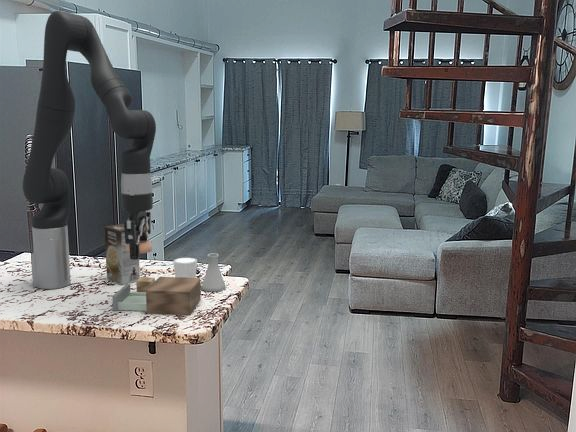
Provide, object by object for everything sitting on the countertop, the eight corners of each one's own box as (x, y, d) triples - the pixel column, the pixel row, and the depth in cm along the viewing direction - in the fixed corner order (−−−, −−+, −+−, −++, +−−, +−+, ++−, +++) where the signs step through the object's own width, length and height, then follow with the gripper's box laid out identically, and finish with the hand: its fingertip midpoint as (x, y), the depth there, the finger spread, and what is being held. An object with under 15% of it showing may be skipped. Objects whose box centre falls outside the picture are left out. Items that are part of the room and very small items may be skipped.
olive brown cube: (136, 293, 158) (136, 281, 158) (141, 289, 162) (140, 277, 162) (150, 294, 158) (150, 281, 158) (155, 289, 162) (154, 277, 162)
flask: (221, 293, 160) (221, 258, 158) (196, 291, 161) (196, 256, 160) (229, 285, 167) (229, 252, 165) (205, 284, 168) (205, 250, 166)
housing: (146, 313, 143) (145, 290, 142) (160, 297, 155) (159, 276, 154) (190, 315, 143) (189, 292, 142) (200, 299, 154) (200, 278, 153)
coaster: (122, 253, 144) (122, 245, 143) (131, 247, 150) (130, 239, 150) (147, 254, 143) (147, 246, 143) (155, 248, 150) (154, 240, 149)
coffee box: (105, 278, 172) (103, 226, 169) (124, 274, 176) (122, 223, 173) (122, 285, 165) (120, 231, 162) (141, 281, 170) (139, 227, 167)
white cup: (175, 279, 172) (174, 257, 170) (198, 279, 172) (198, 257, 171) (172, 286, 165) (172, 263, 164) (196, 286, 166) (196, 263, 164)
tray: (112, 310, 145) (112, 296, 144) (127, 297, 155) (126, 283, 154) (155, 312, 144) (155, 297, 143) (167, 298, 154) (166, 285, 153)
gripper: (131, 186, 151) (134, 248, 154) (111, 194, 137) (114, 262, 140) (159, 187, 151) (161, 249, 154) (142, 195, 137) (144, 263, 140)
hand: (139, 255), depth 147 cm, fingers closed on coaster, 6 cm apart
